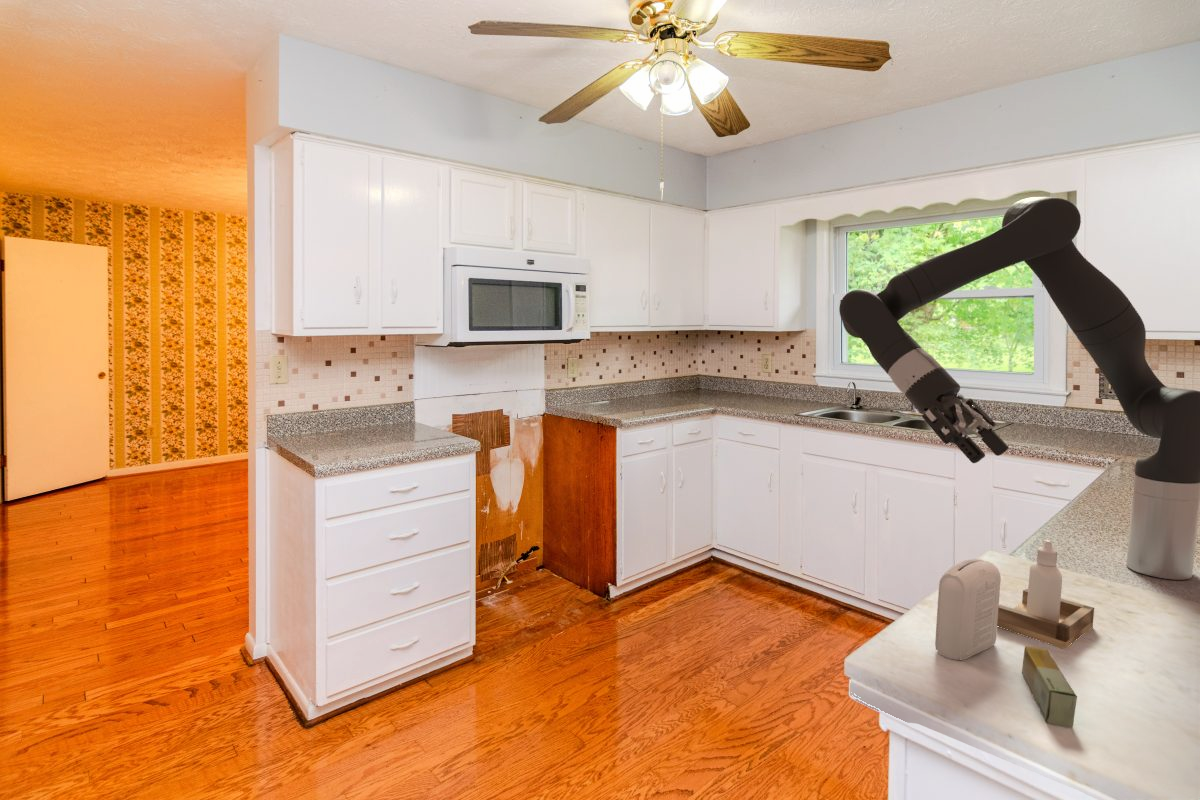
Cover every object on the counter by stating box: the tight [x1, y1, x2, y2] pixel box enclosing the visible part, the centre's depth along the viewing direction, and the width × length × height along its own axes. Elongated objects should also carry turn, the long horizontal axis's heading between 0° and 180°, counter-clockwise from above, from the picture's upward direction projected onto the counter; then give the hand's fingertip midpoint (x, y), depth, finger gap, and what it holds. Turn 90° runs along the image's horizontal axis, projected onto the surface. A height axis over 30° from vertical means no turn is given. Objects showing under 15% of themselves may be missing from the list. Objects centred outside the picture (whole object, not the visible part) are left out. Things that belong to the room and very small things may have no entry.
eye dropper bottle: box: [1027, 539, 1063, 622], centre depth 98 cm, size 4×6×12 cm
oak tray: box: [997, 588, 1095, 650], centre depth 99 cm, size 11×9×3 cm
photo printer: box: [934, 558, 1002, 661], centre depth 91 cm, size 10×4×12 cm, turn 123°
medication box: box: [1021, 645, 1078, 729], centre depth 80 cm, size 12×3×4 cm, turn 160°
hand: (992, 456), depth 106 cm, fingers open, 8 cm apart
